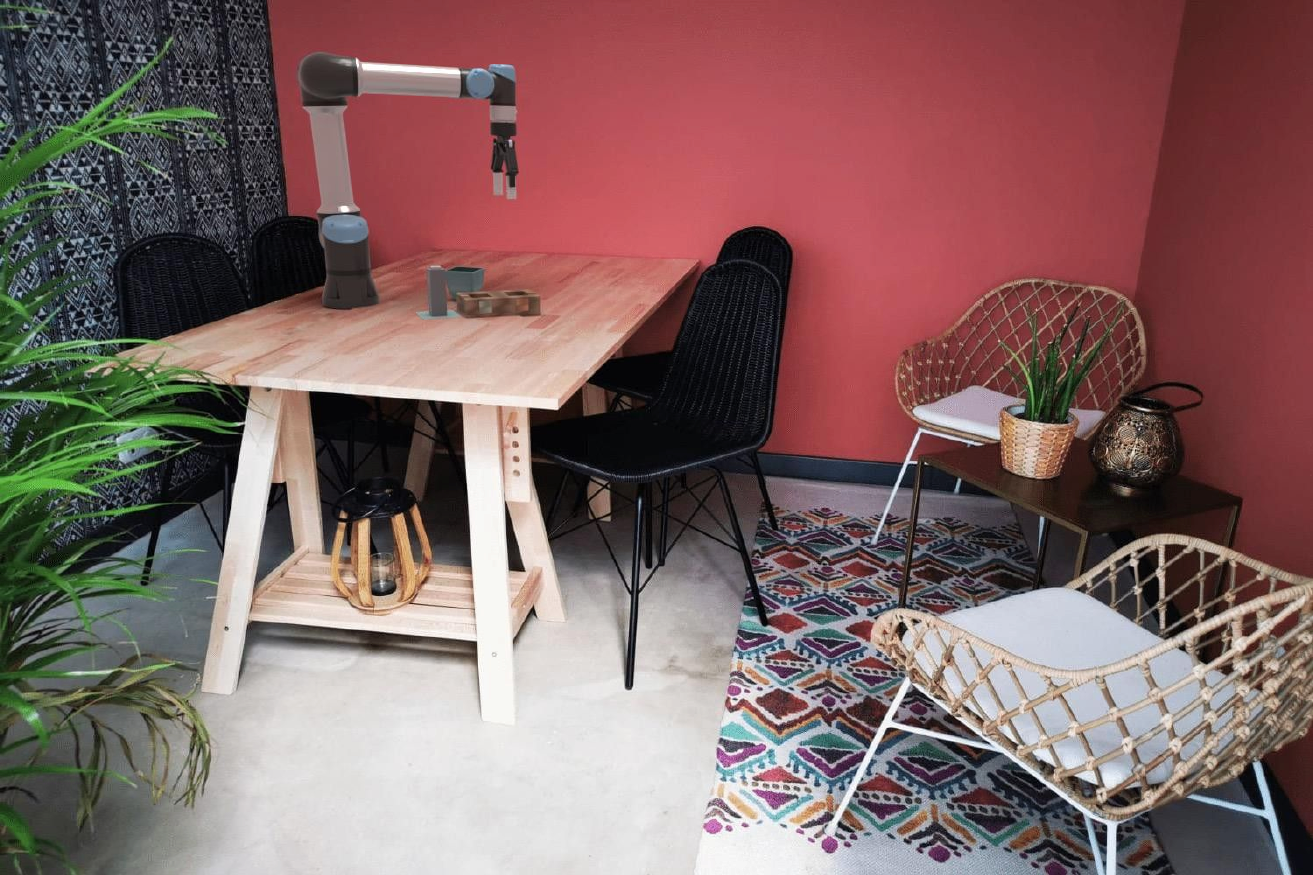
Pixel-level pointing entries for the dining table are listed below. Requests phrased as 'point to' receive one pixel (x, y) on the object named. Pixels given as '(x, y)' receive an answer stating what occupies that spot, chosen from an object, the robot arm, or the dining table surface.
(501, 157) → the robot arm
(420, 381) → the dining table surface
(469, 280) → the flower pot
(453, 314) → the mat
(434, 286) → the plug
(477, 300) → the socket block
